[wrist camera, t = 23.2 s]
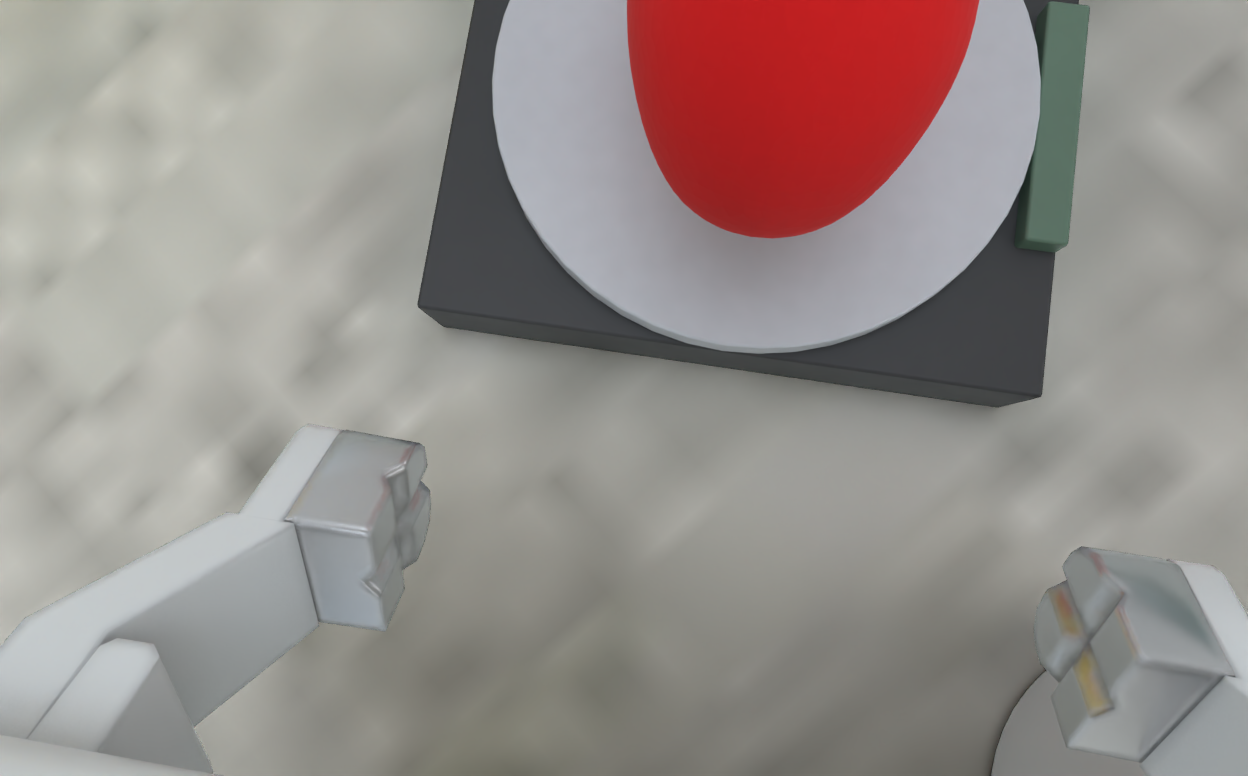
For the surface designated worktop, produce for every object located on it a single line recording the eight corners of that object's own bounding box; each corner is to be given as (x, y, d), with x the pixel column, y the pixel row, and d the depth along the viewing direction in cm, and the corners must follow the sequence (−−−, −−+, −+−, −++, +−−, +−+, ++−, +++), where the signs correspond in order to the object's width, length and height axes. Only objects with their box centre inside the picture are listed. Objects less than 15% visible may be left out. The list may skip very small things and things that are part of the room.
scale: (1045, -48, 23) (1108, -136, 20) (999, 408, 21) (1060, 393, 18) (521, -108, 24) (500, -201, 20) (441, 326, 22) (405, 299, 19)
